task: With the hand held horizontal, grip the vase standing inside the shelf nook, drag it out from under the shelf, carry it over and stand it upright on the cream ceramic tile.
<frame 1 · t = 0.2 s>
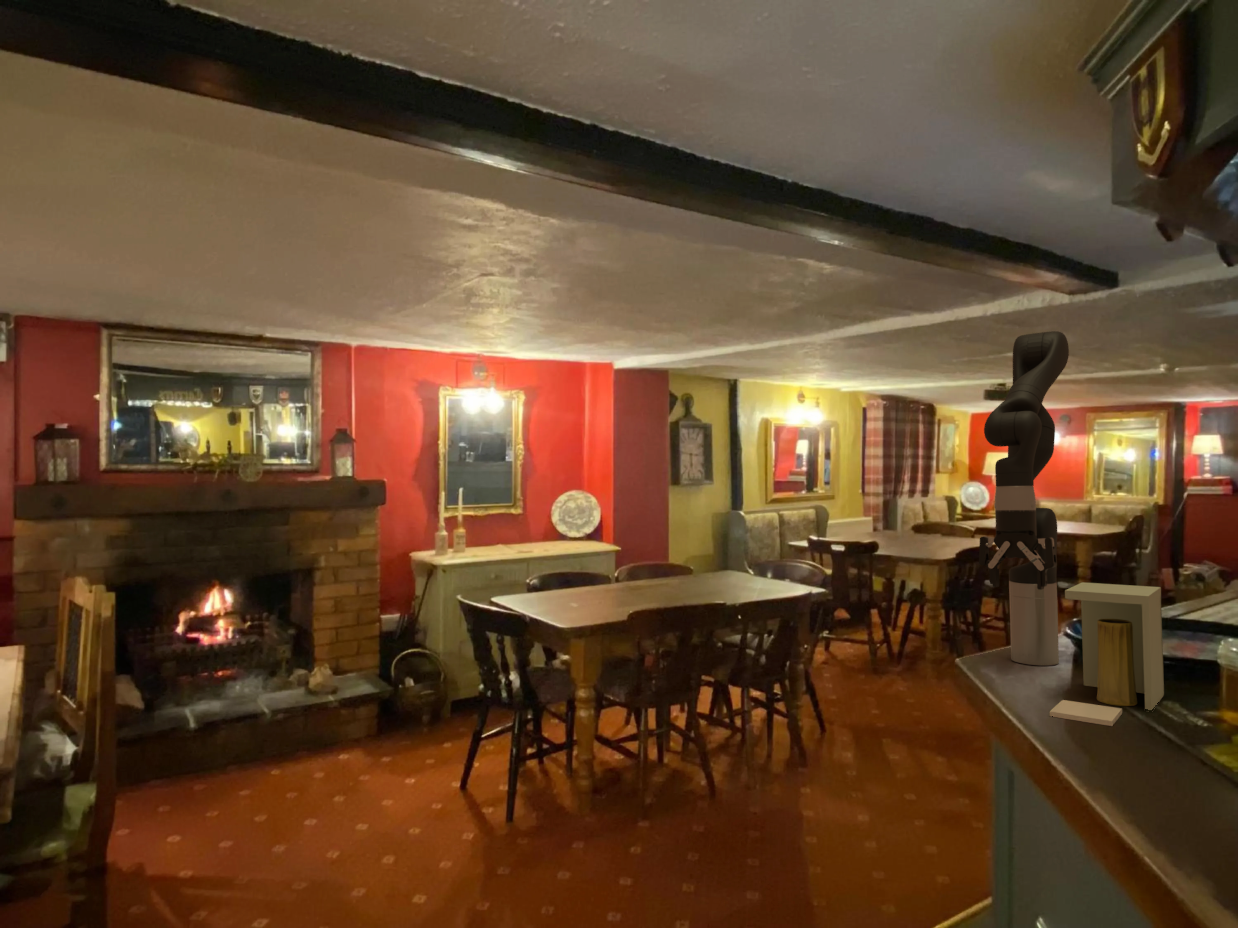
hand: (1017, 588, 165), 17 cm above the countertop, tool pointing down, fingers open, 8 cm apart
tile: (1086, 714, 135), on the countertop
vase: (1116, 702, 143), on the countertop
shelf nook: (1116, 696, 146), on the countertop
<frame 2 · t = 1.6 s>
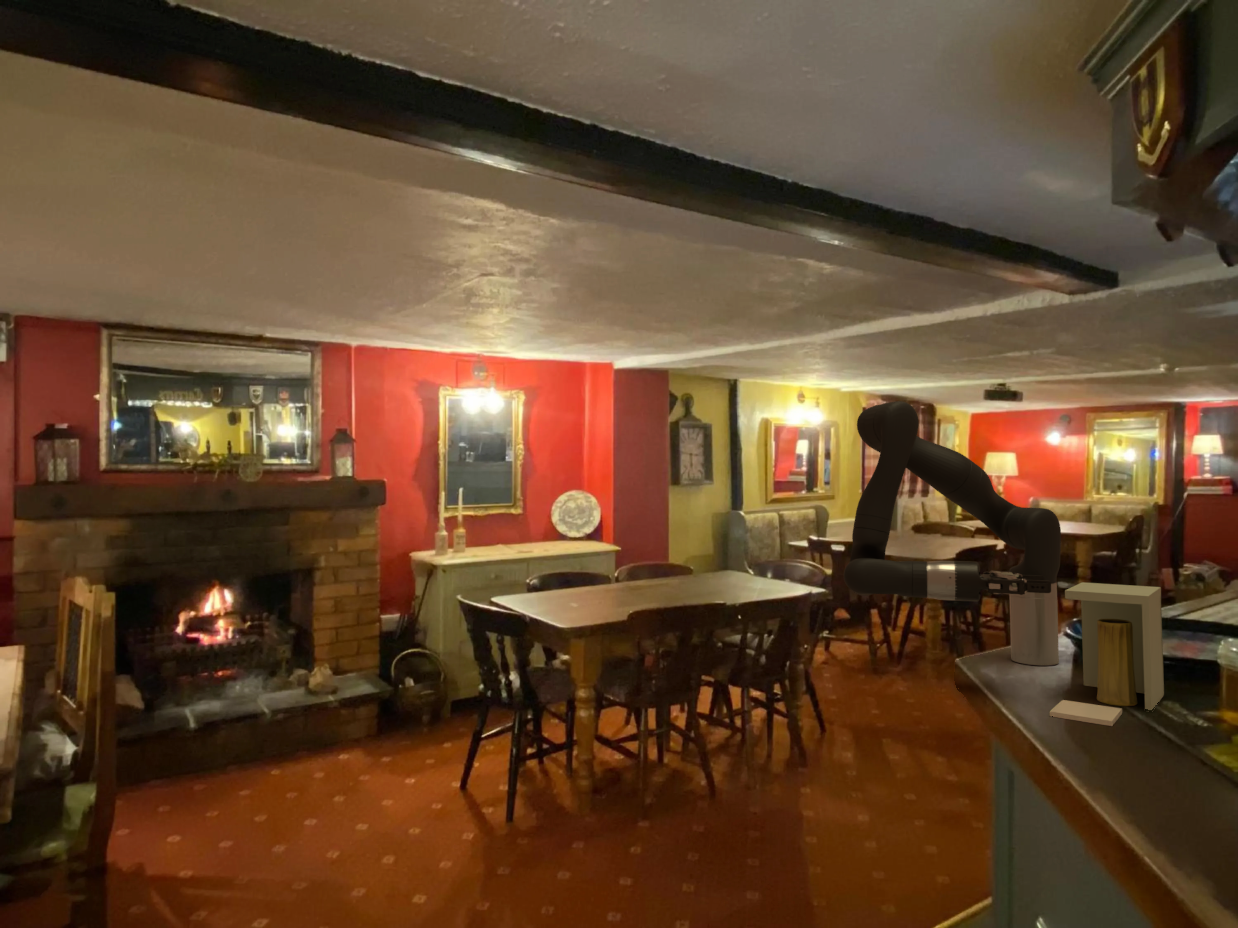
hand: (1047, 584, 149), 20 cm above the countertop, tool horizontal, fingers open, 8 cm apart
nothing on the countertop moved.
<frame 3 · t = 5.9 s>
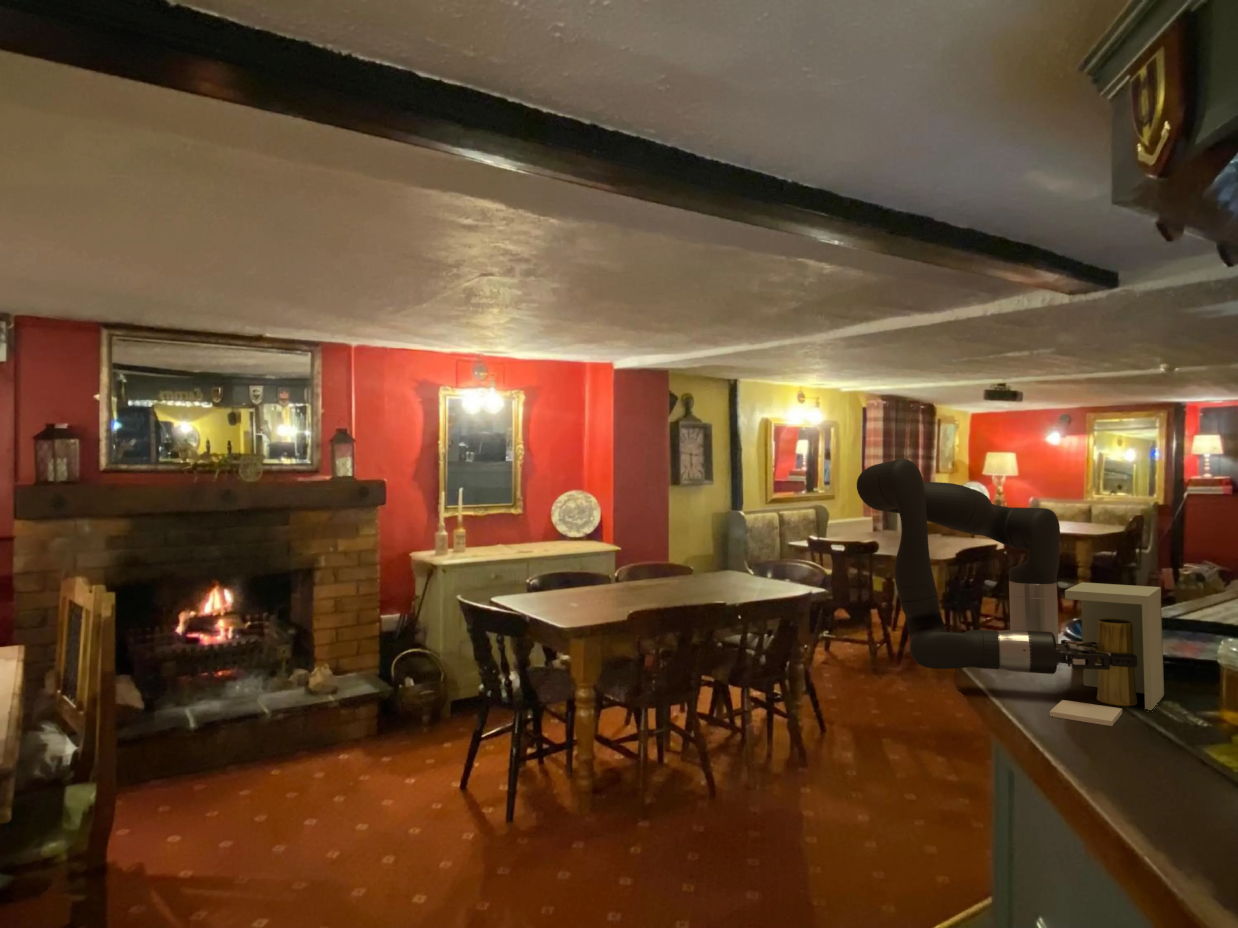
hand: (1132, 656, 142), 8 cm above the countertop, tool horizontal, fingers closed on vase, 5 cm apart
vase: (1116, 702, 143), on the countertop, touching gripper
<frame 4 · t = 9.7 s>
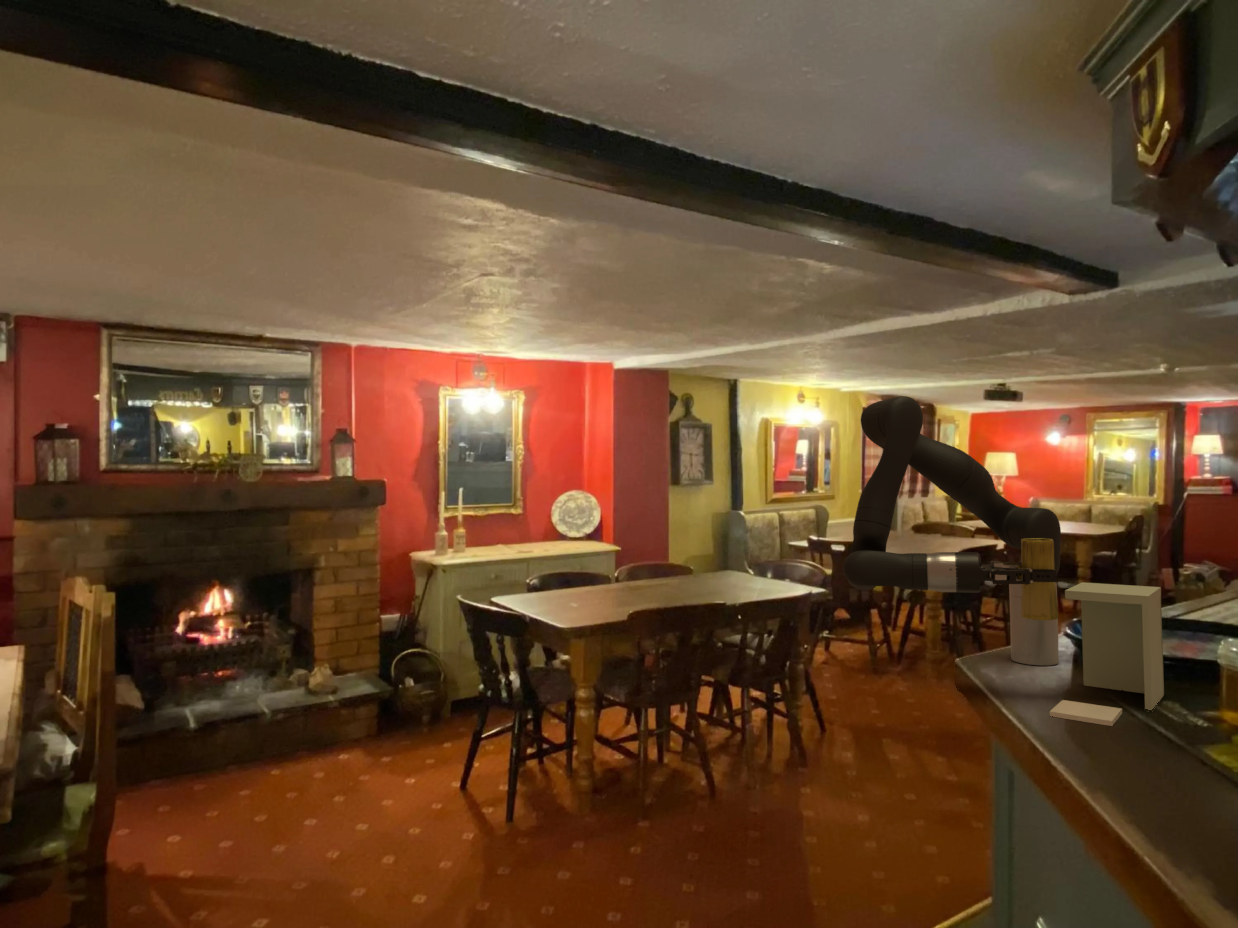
hand: (1053, 573, 147), 22 cm above the countertop, tool horizontal, fingers closed on vase, 5 cm apart
vase: (1039, 618, 148), point 14 cm above the countertop, touching gripper
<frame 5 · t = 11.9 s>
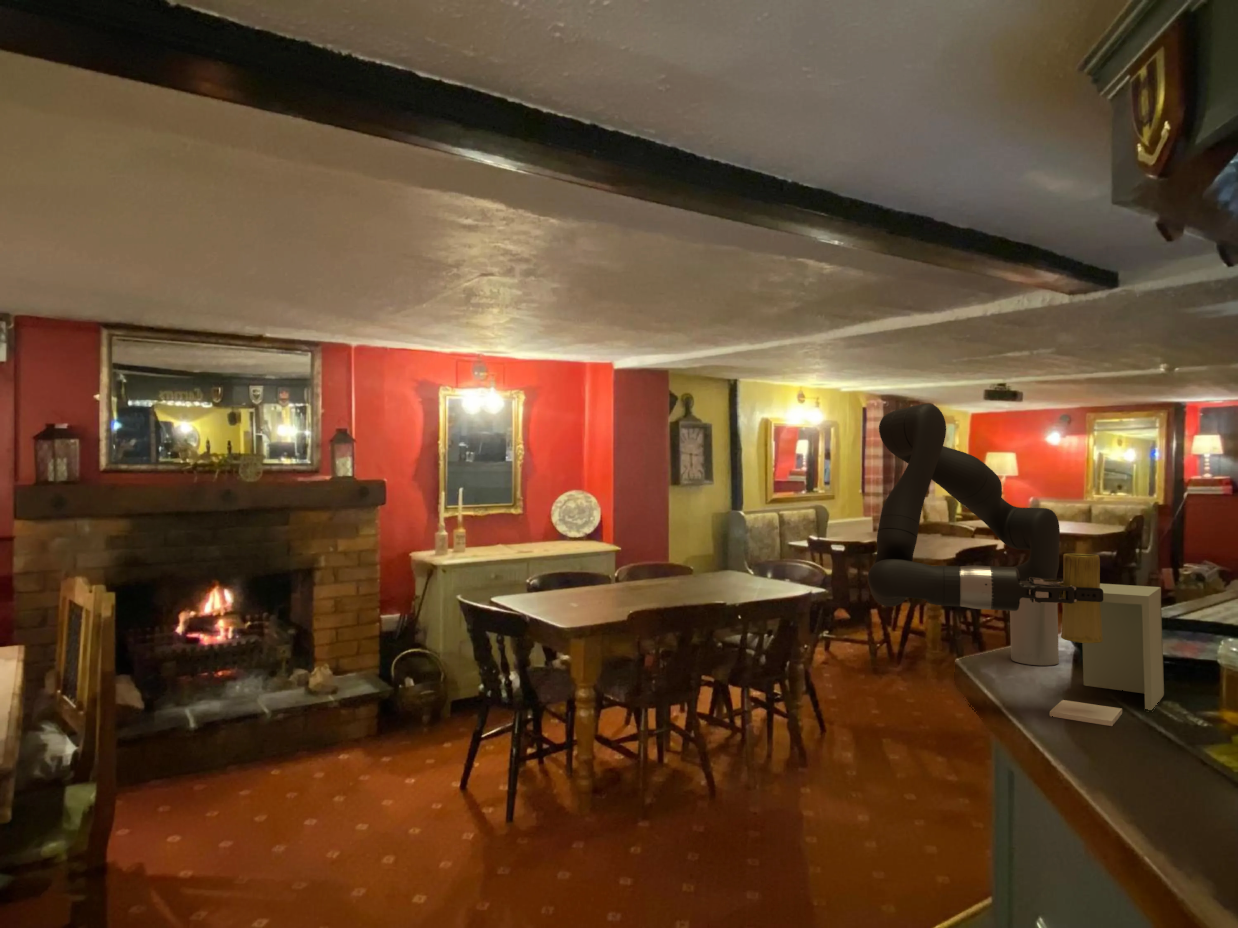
hand: (1098, 592, 135), 20 cm above the countertop, tool horizontal, fingers closed on vase, 5 cm apart
vase: (1081, 641, 136), point 12 cm above the countertop, touching gripper
when the fingers open (10 cm above the countertop, at t = 13.7 s): vase stays where it is, resting on tile.
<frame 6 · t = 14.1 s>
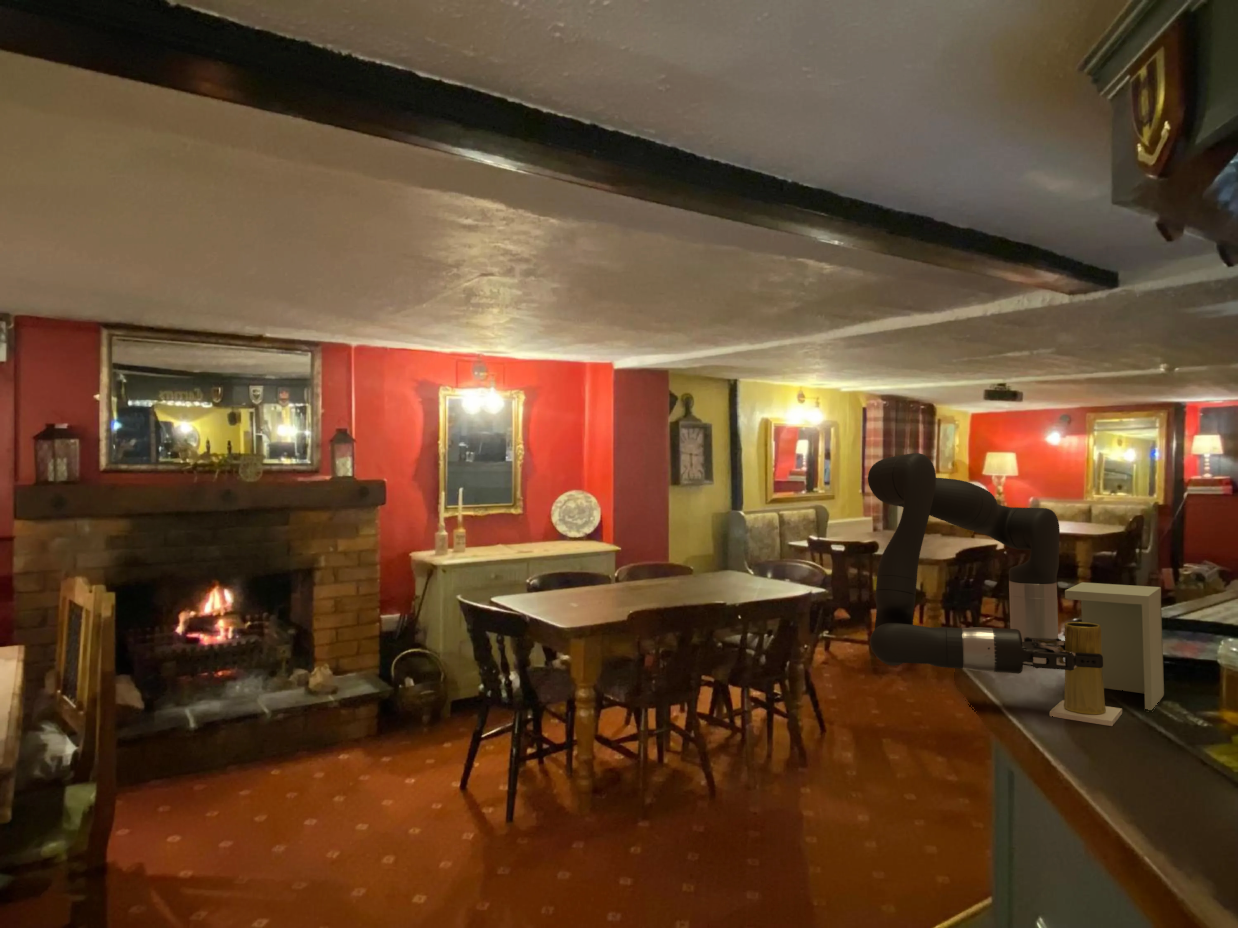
hand: (1097, 655, 135), 10 cm above the countertop, tool horizontal, fingers open, 8 cm apart
vase: (1084, 710, 135), point 1 cm above the countertop, touching tile
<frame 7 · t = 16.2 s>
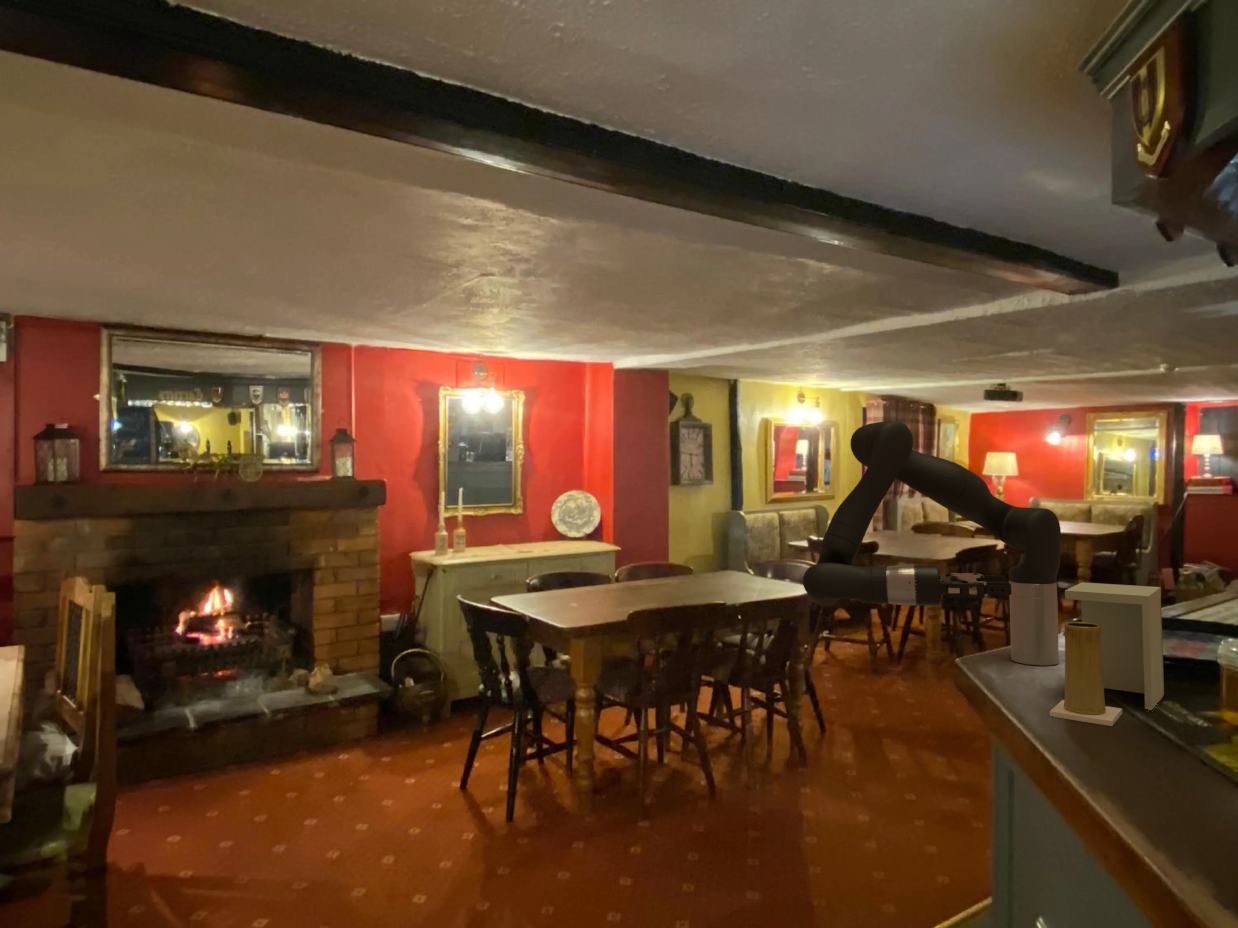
hand: (1008, 585, 146), 21 cm above the countertop, tool horizontal, fingers open, 8 cm apart
nothing on the countertop moved.
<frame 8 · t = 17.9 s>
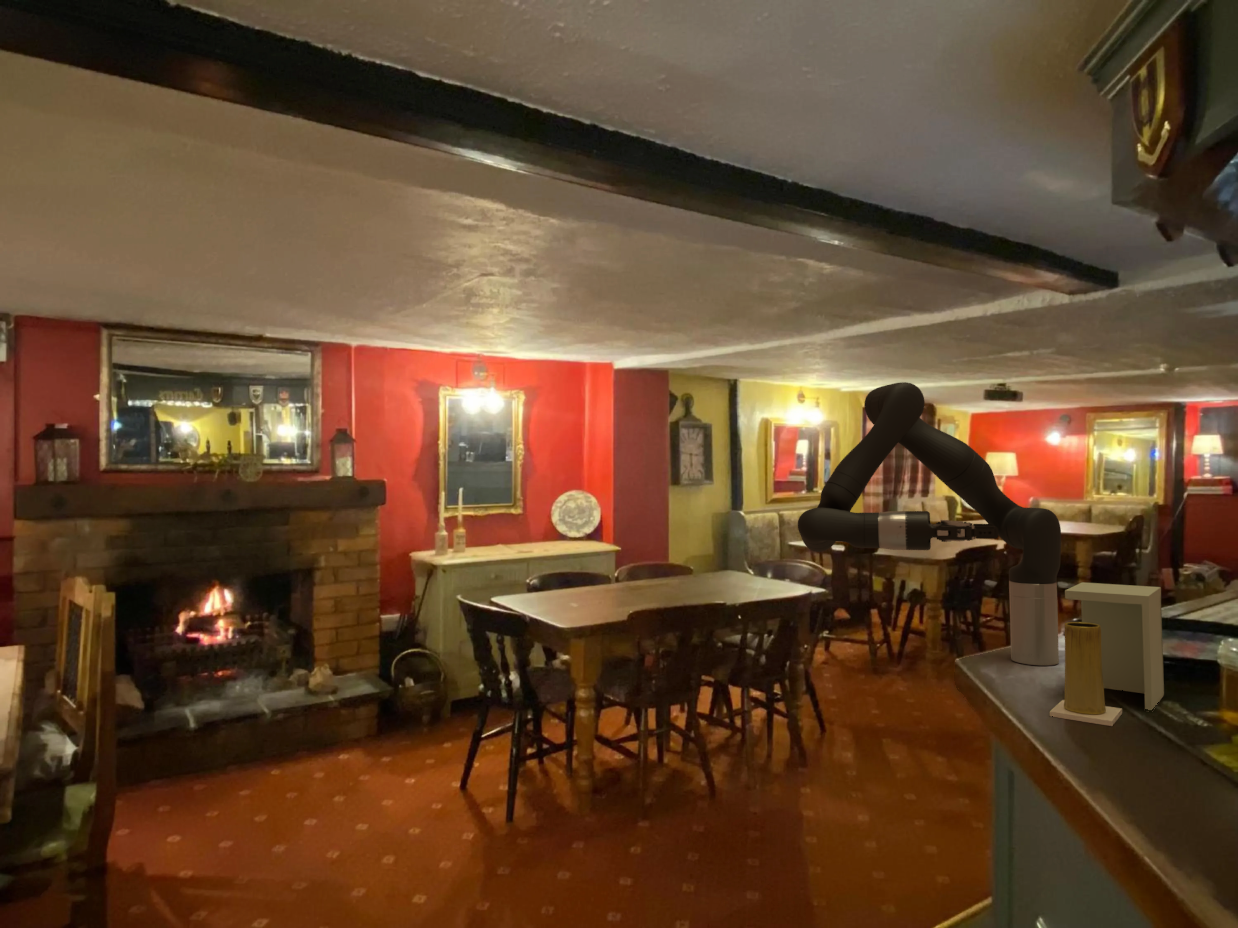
hand: (996, 531, 151), 30 cm above the countertop, tool horizontal, fingers open, 8 cm apart
nothing on the countertop moved.
at the end: vase 0.2 cm from the tile (horizontally); vase tilted 0°; the gripper is holding nothing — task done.
